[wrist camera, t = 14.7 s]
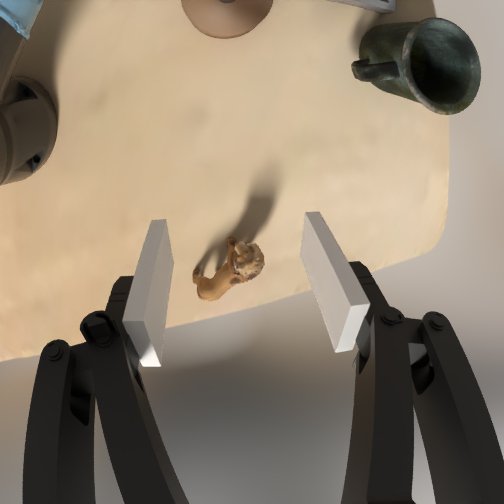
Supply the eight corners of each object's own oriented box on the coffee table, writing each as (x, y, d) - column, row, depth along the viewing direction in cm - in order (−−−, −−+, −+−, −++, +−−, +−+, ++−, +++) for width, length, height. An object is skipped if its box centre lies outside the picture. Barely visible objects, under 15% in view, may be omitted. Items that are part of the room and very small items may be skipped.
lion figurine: (238, 213, 43) (243, 250, 36) (267, 231, 45) (277, 269, 38) (185, 280, 49) (181, 321, 42) (212, 293, 51) (213, 334, 44)
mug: (429, 89, 33) (486, 108, 24) (343, 108, 35) (388, 131, 25) (413, 19, 27) (471, 18, 17) (319, 31, 29) (361, 22, 19)
